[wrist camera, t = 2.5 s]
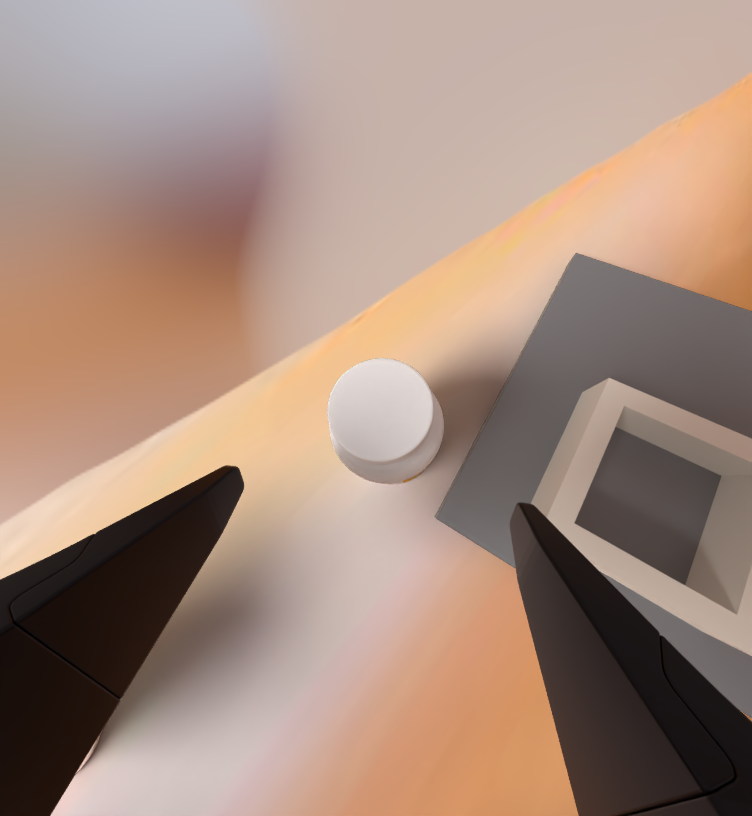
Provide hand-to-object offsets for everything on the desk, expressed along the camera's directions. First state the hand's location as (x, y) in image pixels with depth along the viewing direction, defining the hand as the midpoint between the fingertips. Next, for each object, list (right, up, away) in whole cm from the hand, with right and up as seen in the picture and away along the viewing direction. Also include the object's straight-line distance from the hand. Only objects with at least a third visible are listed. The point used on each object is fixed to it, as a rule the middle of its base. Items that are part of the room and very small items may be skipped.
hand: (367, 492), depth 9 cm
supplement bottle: (+1, 0, +11) cm, 11 cm away
